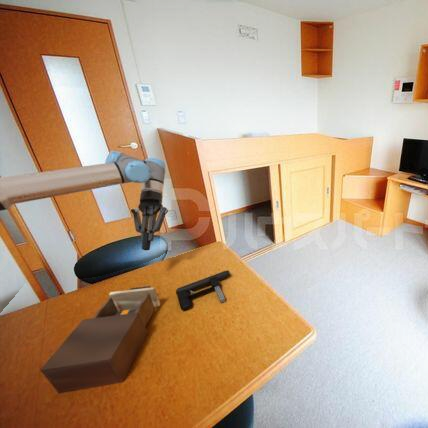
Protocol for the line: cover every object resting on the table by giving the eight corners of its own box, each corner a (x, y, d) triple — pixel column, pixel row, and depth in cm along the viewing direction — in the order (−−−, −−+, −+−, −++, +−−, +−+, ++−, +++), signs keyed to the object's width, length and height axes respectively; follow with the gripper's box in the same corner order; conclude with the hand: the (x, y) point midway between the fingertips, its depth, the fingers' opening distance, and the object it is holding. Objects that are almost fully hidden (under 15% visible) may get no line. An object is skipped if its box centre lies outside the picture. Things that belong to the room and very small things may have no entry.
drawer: (124, 300, 87) (117, 283, 84) (164, 295, 90) (159, 279, 86) (93, 343, 72) (83, 325, 68) (143, 336, 74) (135, 318, 71)
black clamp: (240, 290, 91) (226, 266, 102) (182, 315, 80) (173, 286, 91) (241, 296, 92) (227, 272, 103) (184, 322, 81) (175, 292, 92)
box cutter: (115, 323, 77) (112, 317, 76) (120, 316, 79) (117, 311, 78) (143, 319, 78) (140, 314, 77) (147, 313, 81) (144, 307, 79)
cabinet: (95, 341, 73) (82, 319, 69) (148, 334, 76) (138, 312, 72) (58, 393, 60) (39, 369, 56) (123, 382, 63) (110, 358, 59)
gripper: (173, 196, 103) (168, 249, 96) (139, 198, 101) (132, 253, 93) (165, 188, 96) (159, 245, 89) (128, 190, 94) (120, 249, 86)
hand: (145, 249), depth 91 cm, fingers closed
